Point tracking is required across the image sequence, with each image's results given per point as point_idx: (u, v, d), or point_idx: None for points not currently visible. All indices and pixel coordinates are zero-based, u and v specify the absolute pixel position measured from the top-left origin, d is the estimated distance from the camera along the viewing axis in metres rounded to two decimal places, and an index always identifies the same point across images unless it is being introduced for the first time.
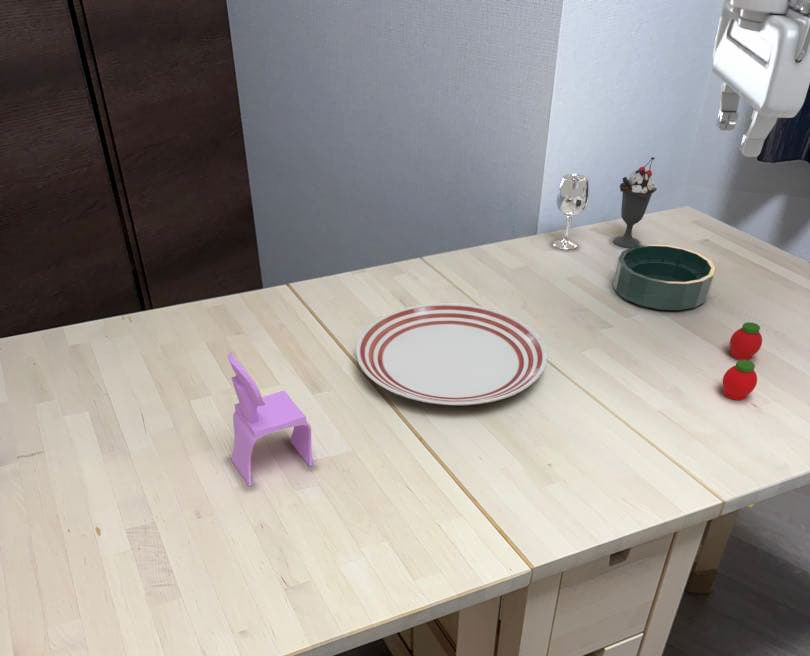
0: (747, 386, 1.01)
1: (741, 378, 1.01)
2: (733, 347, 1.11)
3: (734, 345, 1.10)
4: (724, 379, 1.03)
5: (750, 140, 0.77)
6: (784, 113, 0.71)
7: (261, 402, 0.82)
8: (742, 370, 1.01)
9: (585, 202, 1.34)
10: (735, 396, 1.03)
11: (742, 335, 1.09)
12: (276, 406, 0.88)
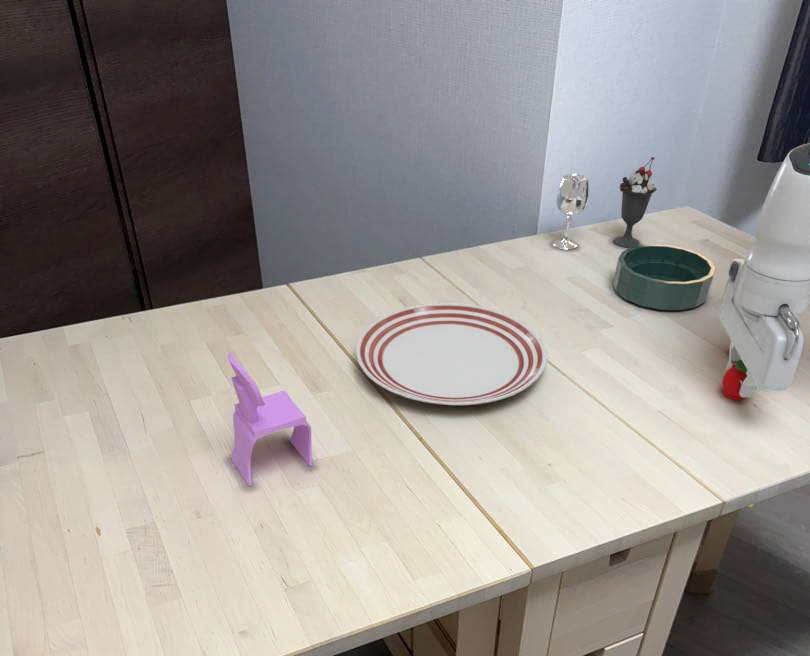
0: None
1: (740, 378, 1.01)
2: None
3: None
4: (724, 379, 1.03)
5: (745, 387, 1.00)
6: (776, 390, 0.93)
7: (261, 402, 0.82)
8: (742, 370, 1.01)
9: (585, 202, 1.34)
10: (735, 396, 1.03)
11: None
12: (276, 406, 0.88)
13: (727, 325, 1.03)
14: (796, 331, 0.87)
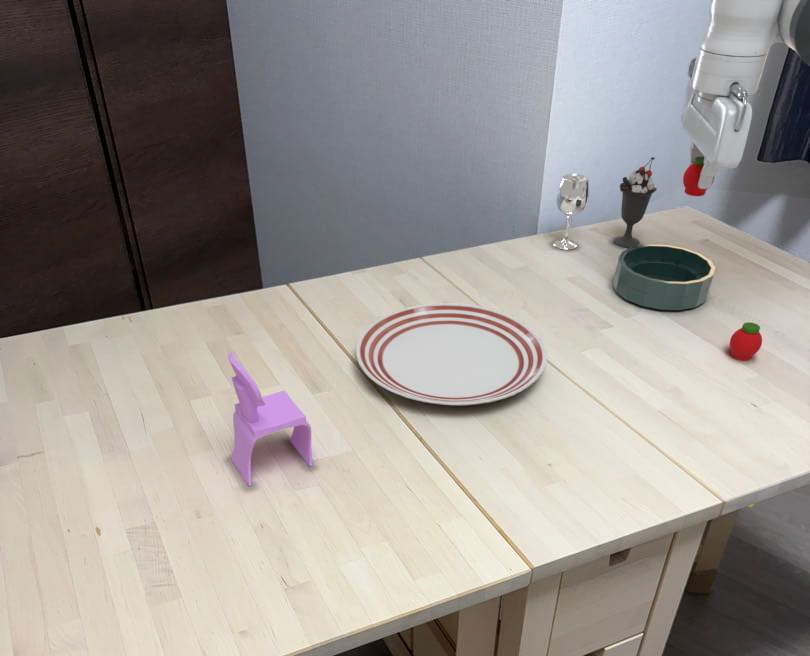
0: None
1: (699, 171, 1.09)
2: (733, 347, 1.11)
3: (734, 345, 1.10)
4: (684, 176, 1.11)
5: (703, 177, 1.08)
6: (728, 165, 1.01)
7: (261, 402, 0.82)
8: (700, 164, 1.09)
9: (585, 202, 1.34)
10: (694, 192, 1.12)
11: (742, 335, 1.09)
12: (276, 406, 0.88)
13: (687, 127, 1.12)
14: (744, 99, 0.96)
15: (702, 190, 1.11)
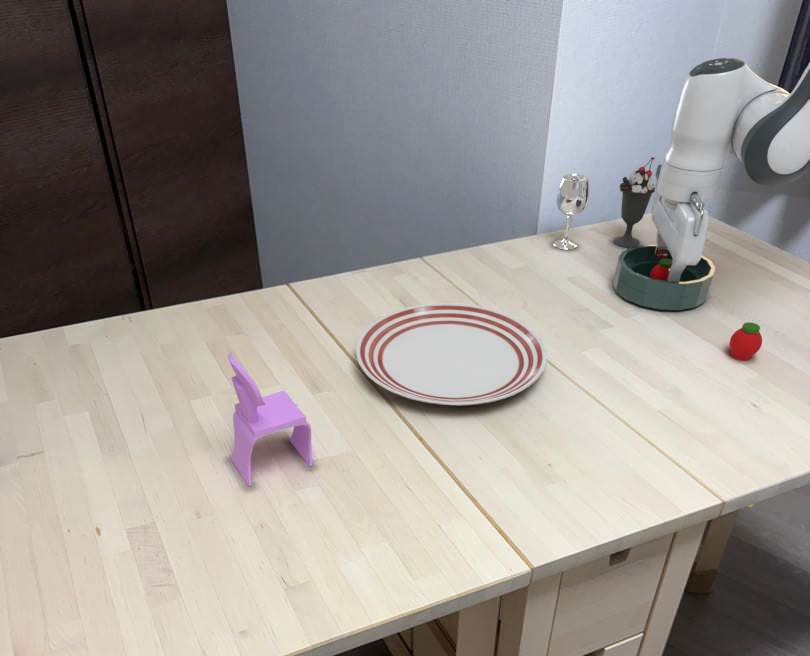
0: None
1: (662, 272, 1.24)
2: (733, 347, 1.11)
3: (734, 345, 1.10)
4: (650, 275, 1.26)
5: (672, 273, 1.20)
6: (689, 263, 1.14)
7: (261, 402, 0.82)
8: (664, 266, 1.24)
9: (585, 202, 1.34)
10: None
11: (742, 335, 1.09)
12: (276, 406, 0.88)
13: (656, 221, 1.25)
14: (701, 210, 1.09)
15: None
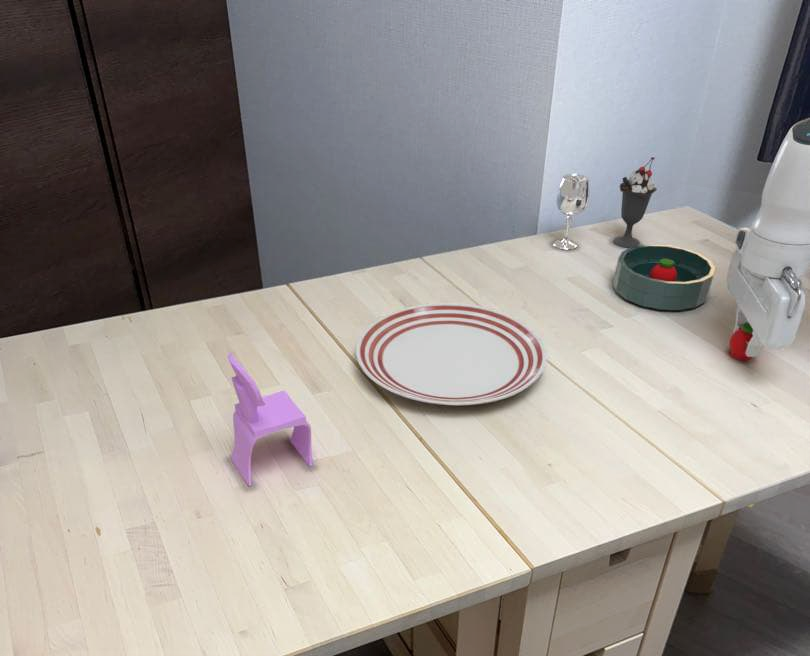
0: (668, 279, 1.24)
1: (662, 272, 1.24)
2: (733, 347, 1.11)
3: (734, 345, 1.10)
4: (650, 275, 1.26)
5: (751, 347, 1.08)
6: (779, 346, 1.00)
7: (261, 402, 0.82)
8: (664, 266, 1.24)
9: (585, 202, 1.34)
10: None
11: (742, 335, 1.09)
12: (276, 406, 0.88)
13: (734, 290, 1.11)
14: (798, 290, 0.95)
15: None
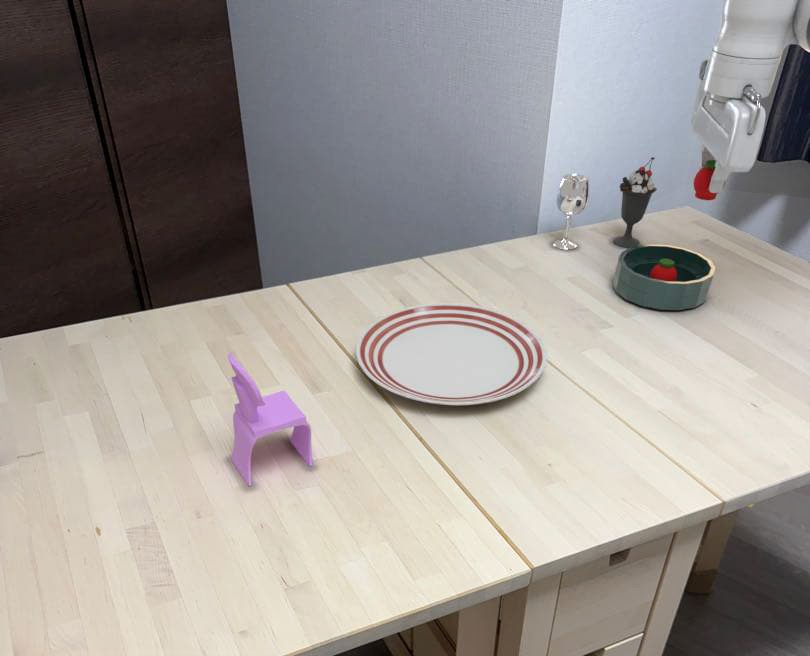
0: (668, 279, 1.24)
1: (662, 272, 1.24)
2: (696, 186, 1.10)
3: (697, 183, 1.09)
4: (650, 275, 1.26)
5: (714, 181, 1.07)
6: (741, 169, 0.99)
7: (261, 402, 0.82)
8: (664, 266, 1.24)
9: (585, 202, 1.34)
10: None
11: (705, 171, 1.08)
12: (276, 406, 0.88)
13: (698, 130, 1.10)
14: (758, 102, 0.94)
15: None
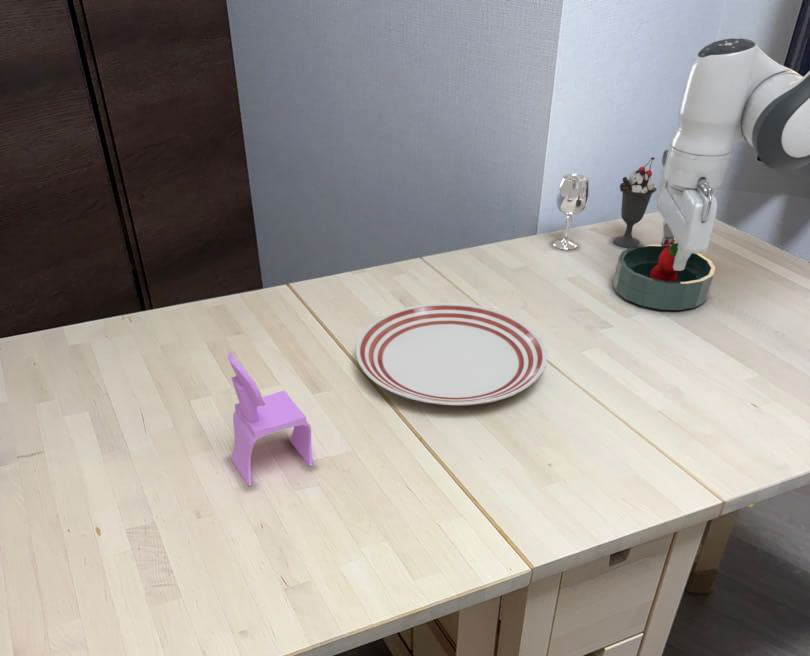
0: (668, 279, 1.24)
1: None
2: (659, 266, 1.21)
3: (660, 264, 1.21)
4: (650, 275, 1.26)
5: (677, 260, 1.17)
6: (696, 251, 1.11)
7: (261, 402, 0.82)
8: None
9: (585, 202, 1.34)
10: None
11: (668, 258, 1.19)
12: (276, 406, 0.88)
13: (662, 208, 1.22)
14: (709, 196, 1.06)
15: None
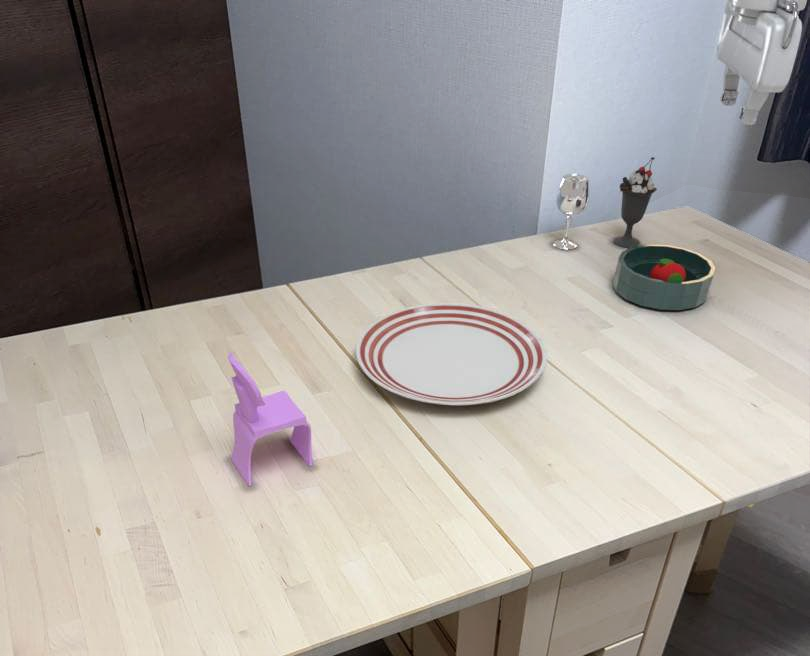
0: None
1: None
2: None
3: None
4: (650, 275, 1.26)
5: (747, 111, 0.97)
6: (774, 88, 0.92)
7: (261, 402, 0.82)
8: None
9: (585, 202, 1.34)
10: None
11: None
12: (276, 406, 0.88)
13: (725, 55, 1.02)
14: (794, 10, 0.86)
15: None
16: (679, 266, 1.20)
